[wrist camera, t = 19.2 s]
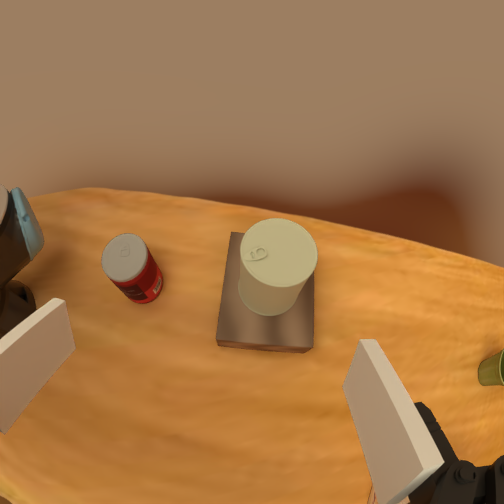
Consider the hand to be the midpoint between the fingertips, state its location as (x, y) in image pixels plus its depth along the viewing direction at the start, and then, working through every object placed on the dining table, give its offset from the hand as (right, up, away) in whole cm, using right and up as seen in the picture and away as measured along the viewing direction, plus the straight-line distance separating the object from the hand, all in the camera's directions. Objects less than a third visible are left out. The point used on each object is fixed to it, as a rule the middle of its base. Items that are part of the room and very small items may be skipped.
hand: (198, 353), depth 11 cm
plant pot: (+55, -23, +29) cm, 66 cm away
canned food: (-17, -2, +37) cm, 41 cm away
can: (+5, -1, +31) cm, 32 cm away
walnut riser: (+5, -4, +37) cm, 37 cm away
